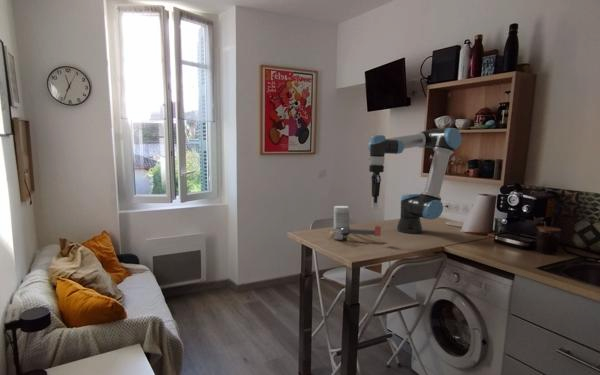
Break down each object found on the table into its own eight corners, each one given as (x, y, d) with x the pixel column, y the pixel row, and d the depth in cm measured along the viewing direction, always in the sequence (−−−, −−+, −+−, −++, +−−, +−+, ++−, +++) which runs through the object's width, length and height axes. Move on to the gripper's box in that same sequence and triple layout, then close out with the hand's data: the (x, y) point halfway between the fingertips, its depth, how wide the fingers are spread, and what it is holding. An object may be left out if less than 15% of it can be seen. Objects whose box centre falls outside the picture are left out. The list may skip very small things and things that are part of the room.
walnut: (334, 236, 195) (335, 230, 195) (340, 238, 191) (341, 232, 191) (328, 237, 193) (328, 231, 192) (333, 239, 189) (334, 233, 188)
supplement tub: (352, 230, 216) (352, 207, 214) (340, 232, 210) (340, 208, 209) (341, 227, 224) (342, 204, 222) (330, 229, 218) (330, 206, 217)
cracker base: (357, 235, 203) (357, 233, 203) (383, 243, 187) (383, 241, 186) (326, 241, 191) (326, 238, 191) (350, 250, 174) (350, 247, 174)
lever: (379, 240, 188) (380, 225, 187) (380, 242, 183) (380, 227, 182) (333, 237, 191) (334, 223, 190) (333, 240, 186) (333, 225, 185)
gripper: (367, 163, 191) (365, 206, 194) (371, 165, 178) (369, 210, 181) (381, 164, 191) (379, 206, 194) (386, 165, 178) (384, 210, 181)
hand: (374, 208), depth 187 cm, fingers closed
